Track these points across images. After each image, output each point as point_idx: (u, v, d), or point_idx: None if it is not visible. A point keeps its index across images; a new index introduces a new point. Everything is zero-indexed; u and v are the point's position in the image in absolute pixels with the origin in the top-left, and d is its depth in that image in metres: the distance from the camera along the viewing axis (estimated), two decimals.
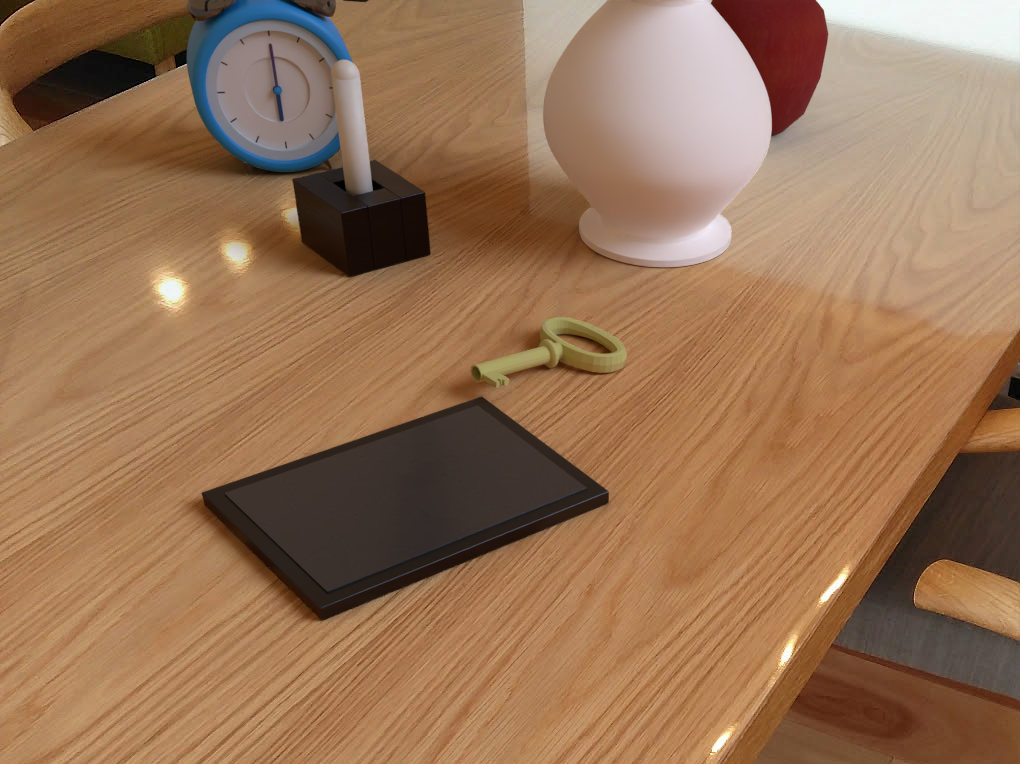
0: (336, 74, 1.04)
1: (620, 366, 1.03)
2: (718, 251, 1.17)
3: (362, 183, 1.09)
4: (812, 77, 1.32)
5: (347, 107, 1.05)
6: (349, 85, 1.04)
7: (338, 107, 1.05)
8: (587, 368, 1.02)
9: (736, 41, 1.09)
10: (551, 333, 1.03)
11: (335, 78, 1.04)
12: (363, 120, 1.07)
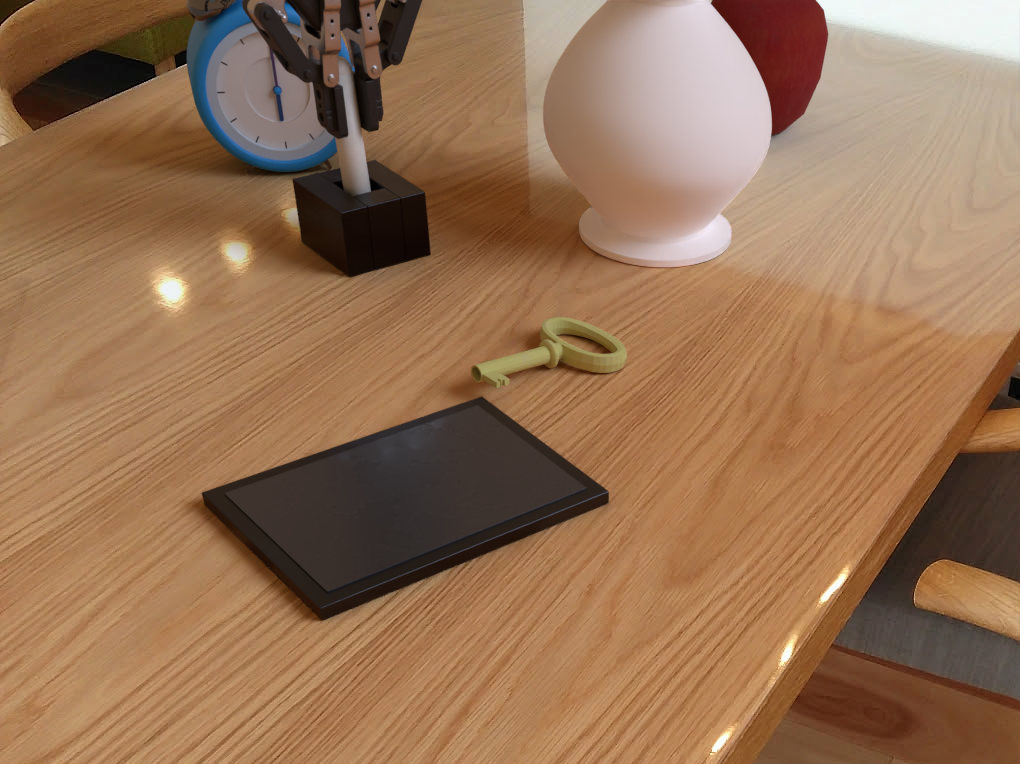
0: None
1: (620, 366, 1.03)
2: (718, 251, 1.17)
3: (359, 180, 1.09)
4: (812, 77, 1.32)
5: None
6: (342, 80, 1.05)
7: None
8: (587, 368, 1.02)
9: (736, 41, 1.09)
10: (551, 333, 1.03)
11: None
12: (358, 116, 1.07)
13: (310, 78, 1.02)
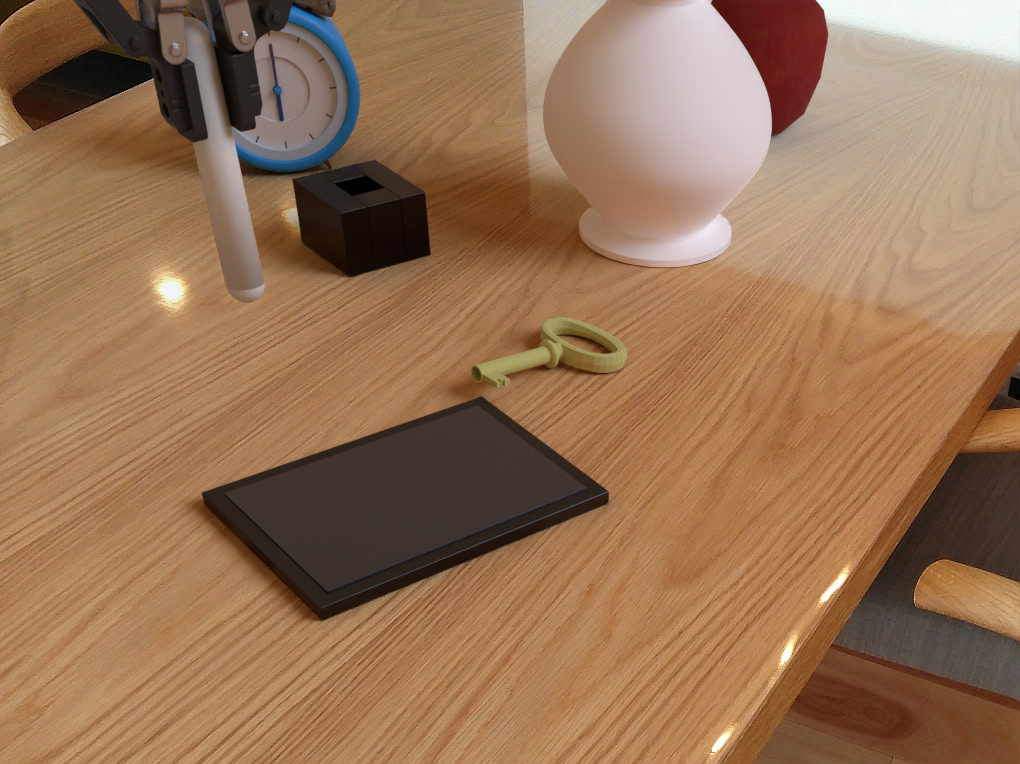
0: None
1: (620, 366, 1.03)
2: (718, 251, 1.17)
3: (231, 203, 0.74)
4: (812, 77, 1.32)
5: None
6: (195, 54, 0.69)
7: None
8: (587, 368, 1.02)
9: (736, 41, 1.09)
10: (551, 333, 1.03)
11: None
12: (224, 109, 0.72)
13: (140, 50, 0.66)
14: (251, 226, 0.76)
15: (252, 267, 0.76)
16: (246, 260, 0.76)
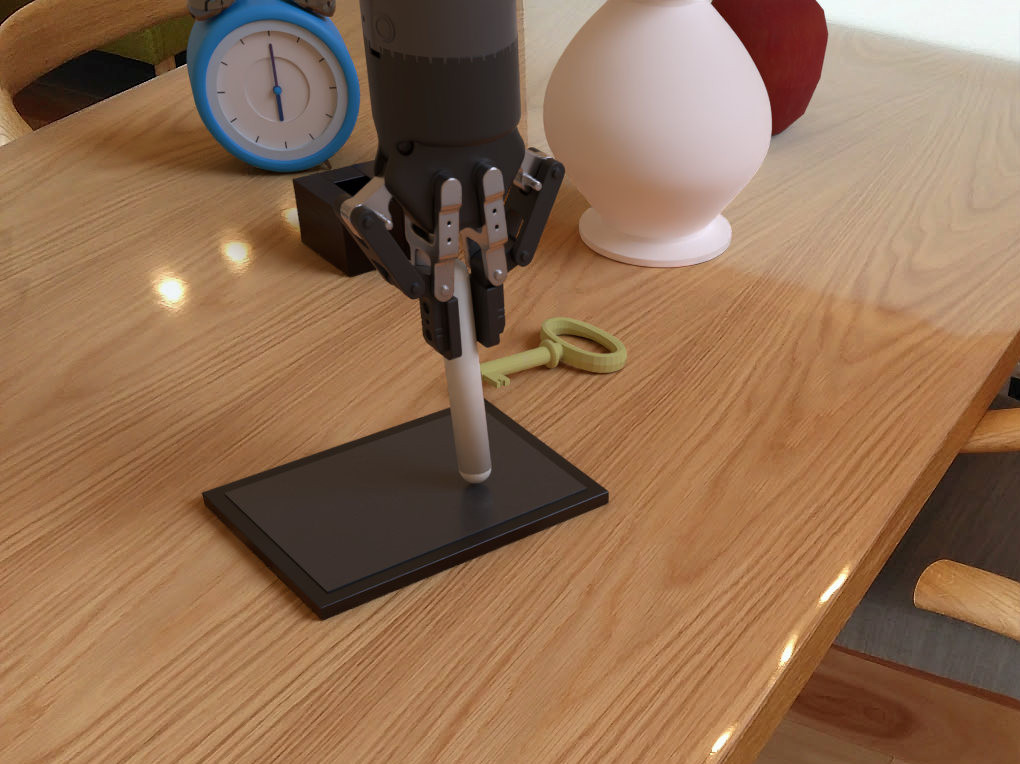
0: None
1: (620, 366, 1.03)
2: (718, 251, 1.17)
3: (472, 405, 0.85)
4: (812, 77, 1.32)
5: None
6: (456, 288, 0.81)
7: None
8: (588, 368, 1.02)
9: (736, 41, 1.09)
10: (551, 333, 1.03)
11: None
12: (473, 329, 0.83)
13: (418, 293, 0.78)
14: (485, 421, 0.87)
15: (484, 455, 0.88)
16: (480, 450, 0.87)
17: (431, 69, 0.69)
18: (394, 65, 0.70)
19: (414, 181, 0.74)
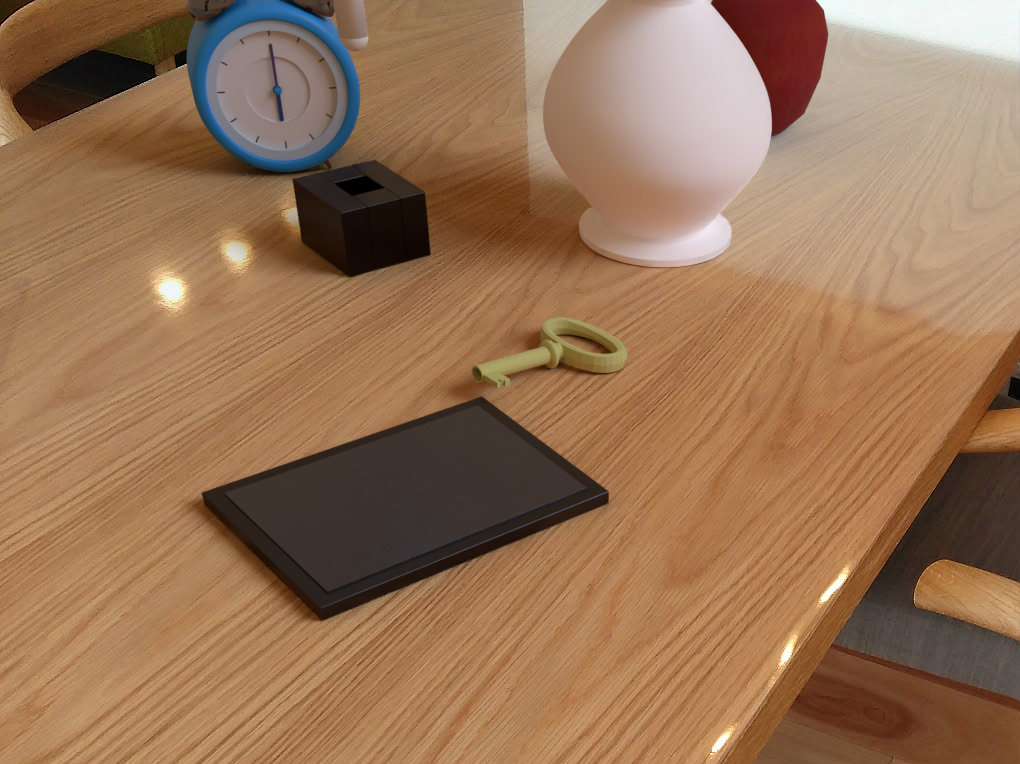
0: None
1: (620, 366, 1.03)
2: (718, 251, 1.17)
3: None
4: (812, 77, 1.32)
5: None
6: None
7: None
8: (588, 368, 1.02)
9: (736, 41, 1.09)
10: (551, 333, 1.03)
11: None
12: None
13: None
14: None
15: (360, 20, 0.99)
16: (356, 13, 0.98)
17: None
18: None
19: None
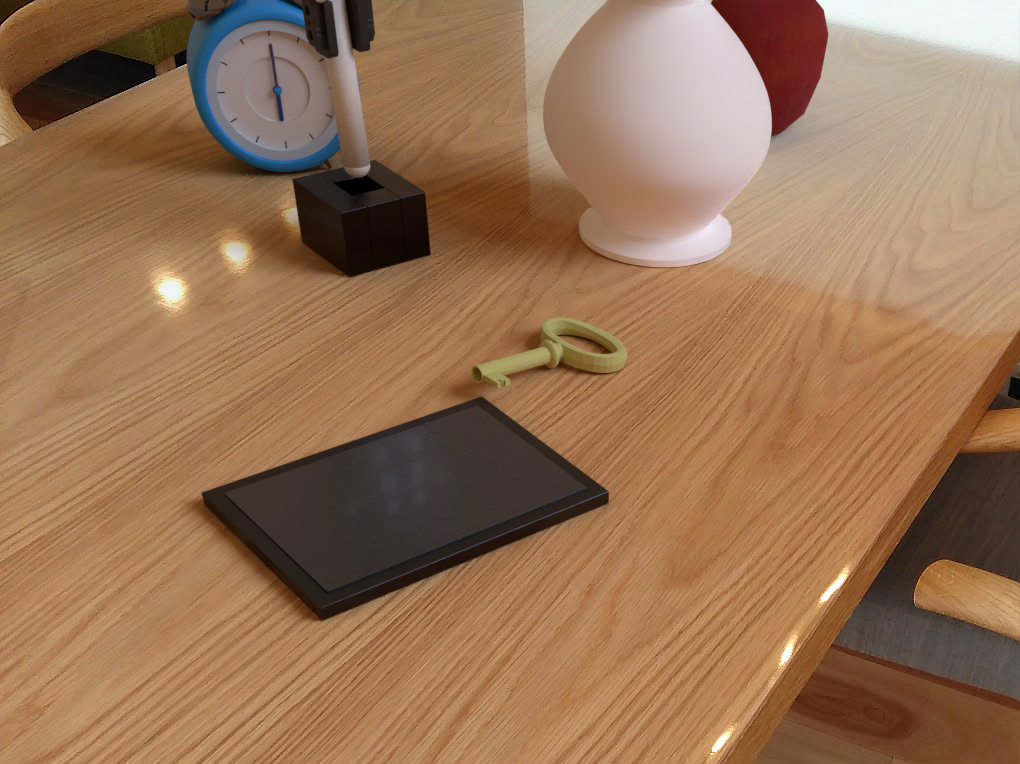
0: None
1: (621, 366, 1.03)
2: (718, 251, 1.17)
3: (351, 103, 1.06)
4: (812, 77, 1.32)
5: None
6: None
7: None
8: (588, 368, 1.02)
9: (736, 41, 1.09)
10: (551, 334, 1.03)
11: None
12: (349, 36, 1.03)
13: None
14: (363, 121, 1.07)
15: (363, 151, 1.08)
16: (359, 145, 1.08)
17: None
18: None
19: None
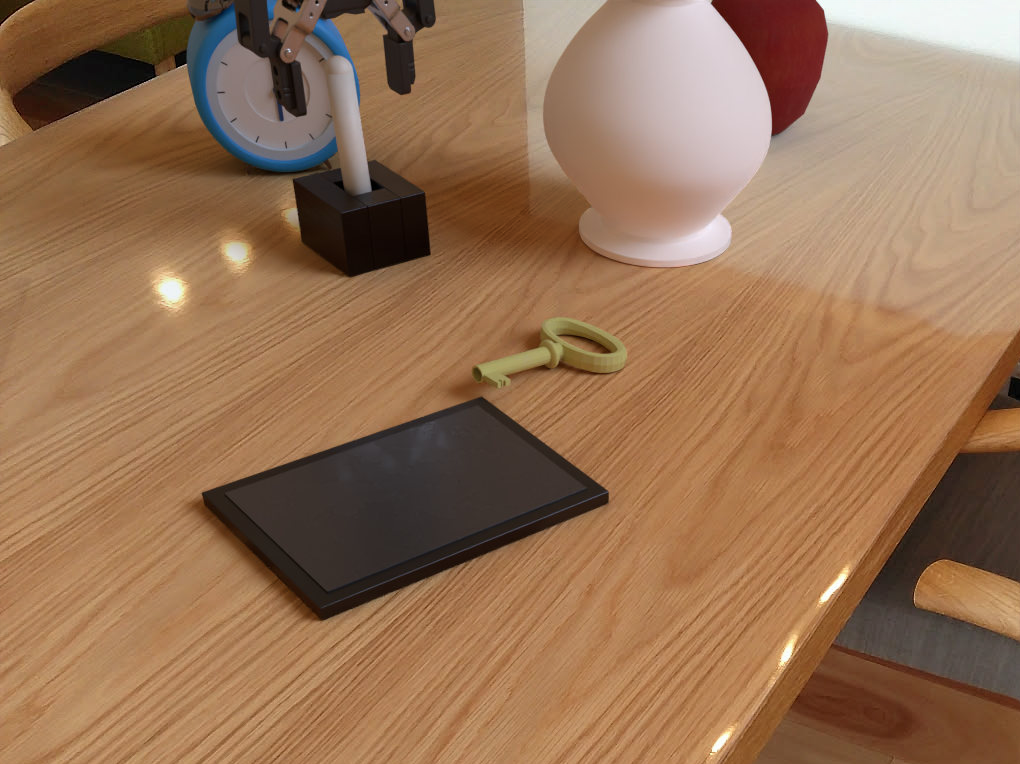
0: (329, 69, 1.04)
1: (621, 366, 1.03)
2: (718, 251, 1.17)
3: (360, 180, 1.09)
4: (812, 77, 1.32)
5: (341, 102, 1.06)
6: (342, 80, 1.05)
7: (333, 103, 1.06)
8: (588, 368, 1.02)
9: (736, 41, 1.09)
10: (551, 333, 1.03)
11: (328, 74, 1.05)
12: (358, 116, 1.07)
13: (263, 54, 0.99)
14: None
15: None
16: None
17: None
18: None
19: None
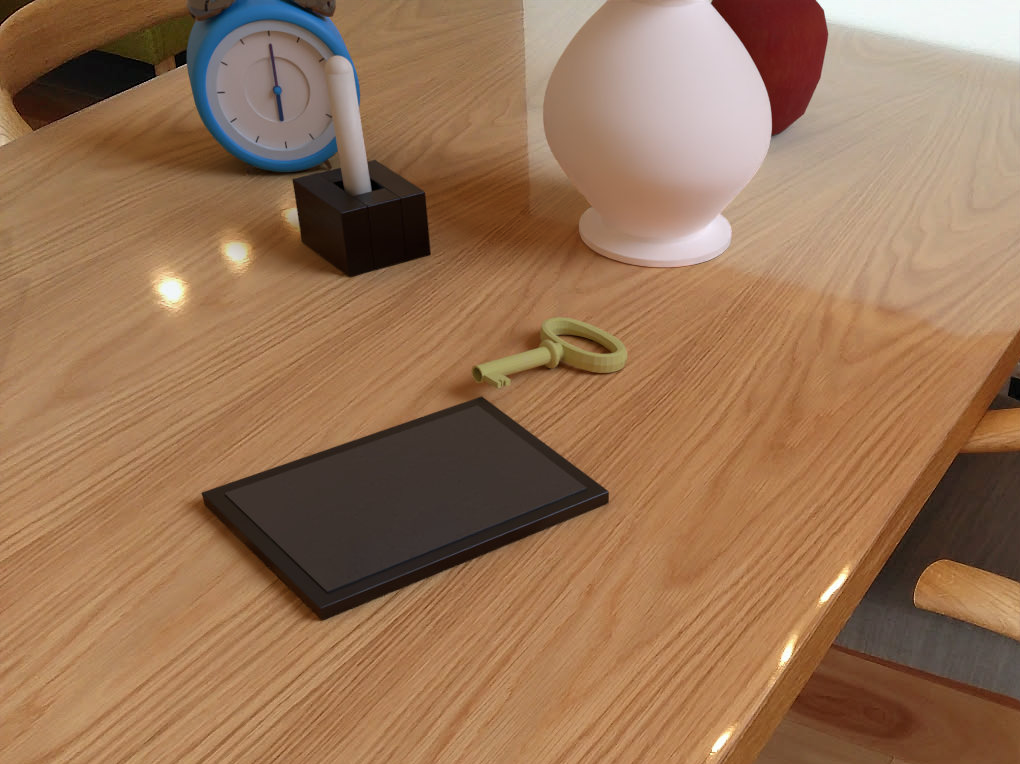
0: (329, 69, 1.04)
1: (621, 366, 1.03)
2: (718, 251, 1.17)
3: (360, 180, 1.09)
4: (812, 77, 1.32)
5: (341, 102, 1.06)
6: (342, 80, 1.05)
7: (333, 103, 1.06)
8: (588, 368, 1.02)
9: (736, 41, 1.09)
10: (551, 333, 1.03)
11: (328, 74, 1.05)
12: (358, 116, 1.07)
13: None
14: None
15: None
16: None
17: None
18: None
19: None
